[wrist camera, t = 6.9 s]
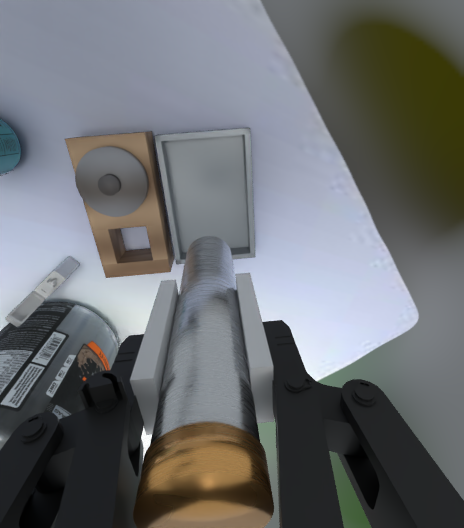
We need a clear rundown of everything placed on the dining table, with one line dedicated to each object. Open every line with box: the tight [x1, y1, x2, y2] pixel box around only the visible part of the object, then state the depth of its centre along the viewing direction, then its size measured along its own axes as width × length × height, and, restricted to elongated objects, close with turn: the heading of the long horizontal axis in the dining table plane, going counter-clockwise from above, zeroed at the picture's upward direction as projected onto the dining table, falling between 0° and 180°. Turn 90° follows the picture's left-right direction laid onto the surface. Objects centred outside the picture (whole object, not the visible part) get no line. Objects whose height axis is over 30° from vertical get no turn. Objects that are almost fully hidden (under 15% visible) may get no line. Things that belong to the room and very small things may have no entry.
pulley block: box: [65, 131, 174, 278], centre depth 34 cm, size 16×8×7 cm, turn 4°
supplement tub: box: [0, 302, 118, 450], centre depth 34 cm, size 16×16×26 cm
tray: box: [154, 128, 255, 264], centre depth 36 cm, size 15×10×3 cm
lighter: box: [5, 256, 80, 327], centre depth 37 cm, size 7×2×8 cm, turn 131°
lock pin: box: [133, 236, 274, 528], centre depth 14 cm, size 3×3×15 cm
